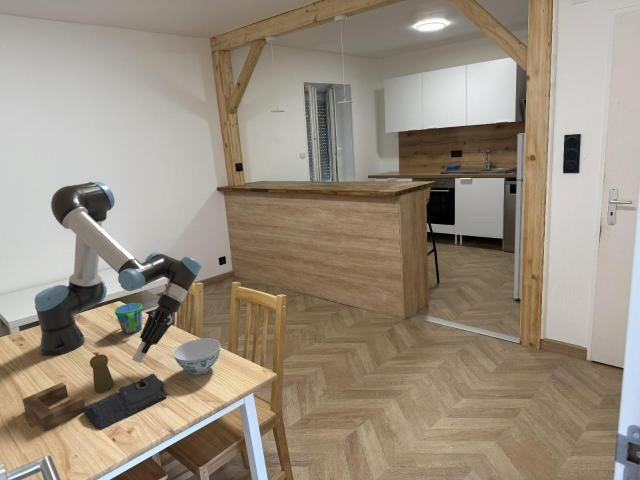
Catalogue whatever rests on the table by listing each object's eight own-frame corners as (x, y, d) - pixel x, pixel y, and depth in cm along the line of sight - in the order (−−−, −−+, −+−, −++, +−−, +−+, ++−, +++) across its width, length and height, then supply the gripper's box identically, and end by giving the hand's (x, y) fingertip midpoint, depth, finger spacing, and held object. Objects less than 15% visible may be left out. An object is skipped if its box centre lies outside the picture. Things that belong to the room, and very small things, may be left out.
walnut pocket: (64, 393, 140) (62, 382, 139) (85, 410, 129) (83, 398, 128) (25, 411, 132) (22, 399, 131) (44, 431, 121) (41, 418, 120)
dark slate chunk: (79, 412, 130) (75, 398, 128) (151, 380, 144) (149, 367, 143) (97, 434, 119) (94, 419, 118) (173, 397, 134) (171, 383, 132)
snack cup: (146, 334, 179) (142, 311, 177) (118, 340, 175) (113, 317, 173) (145, 320, 193) (141, 299, 191) (119, 326, 189) (114, 304, 187)
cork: (106, 393, 138) (99, 361, 135) (89, 392, 139) (82, 361, 136) (118, 383, 143) (112, 352, 141) (102, 382, 145) (95, 351, 142)
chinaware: (168, 372, 147) (164, 351, 146) (207, 354, 158) (204, 334, 156) (192, 387, 137) (189, 364, 135) (232, 366, 148) (229, 345, 146)
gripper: (190, 305, 155) (155, 370, 146) (169, 299, 163) (135, 360, 154) (174, 296, 149) (137, 362, 141) (154, 290, 158) (117, 352, 149)
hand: (136, 361), depth 148 cm, fingers closed
